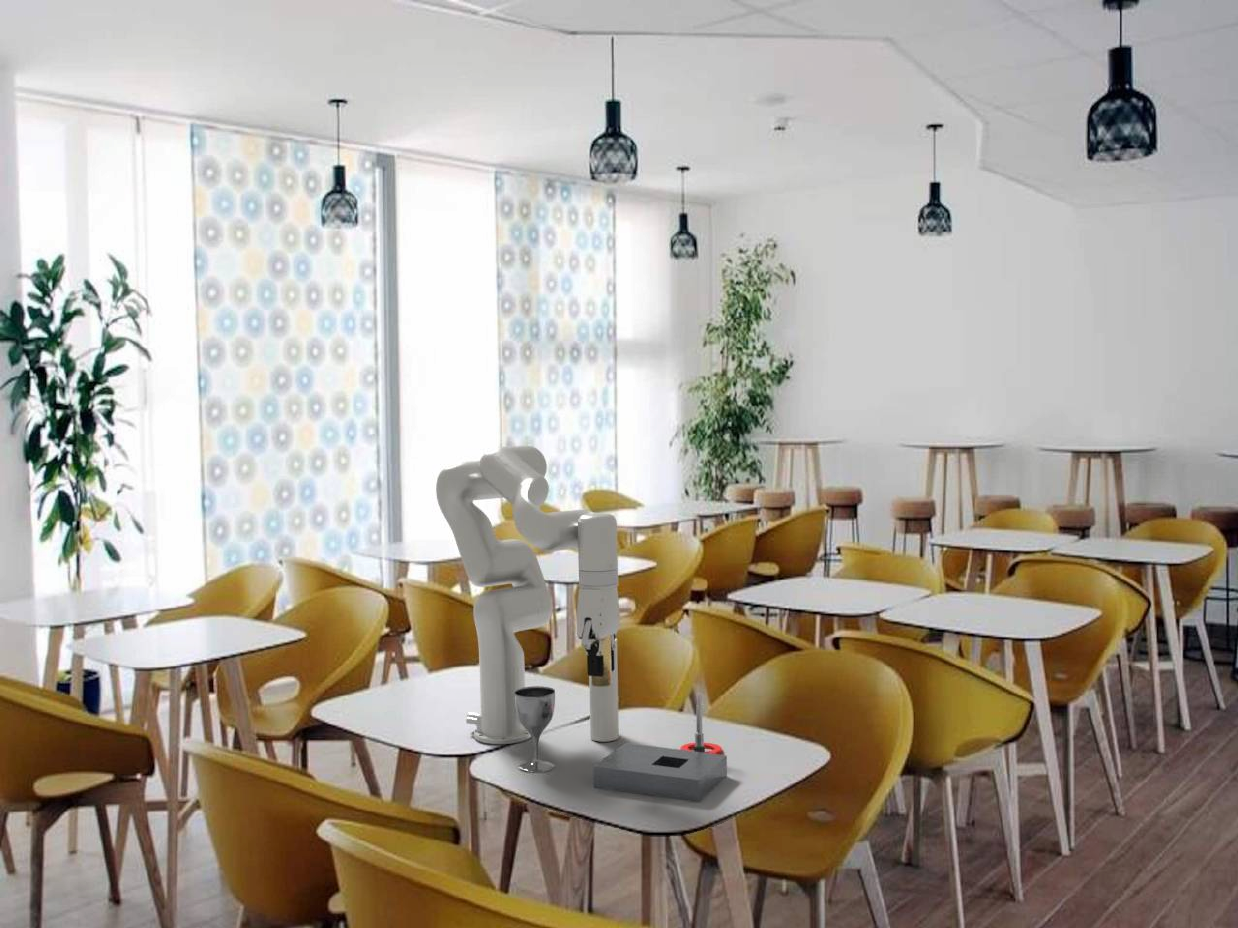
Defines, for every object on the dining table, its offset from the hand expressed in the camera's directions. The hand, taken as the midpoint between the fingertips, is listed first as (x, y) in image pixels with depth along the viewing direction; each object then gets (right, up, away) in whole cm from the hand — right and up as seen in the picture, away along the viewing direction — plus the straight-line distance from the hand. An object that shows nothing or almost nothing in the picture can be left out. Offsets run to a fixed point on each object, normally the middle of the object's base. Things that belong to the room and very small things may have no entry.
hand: (601, 672), depth 226 cm
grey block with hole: (+11, -20, -4) cm, 23 cm away
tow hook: (+20, -19, +13) cm, 30 cm away
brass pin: (0, -2, 0) cm, 2 cm away
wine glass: (-13, -20, +5) cm, 24 cm away
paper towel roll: (+1, -18, +23) cm, 30 cm away
